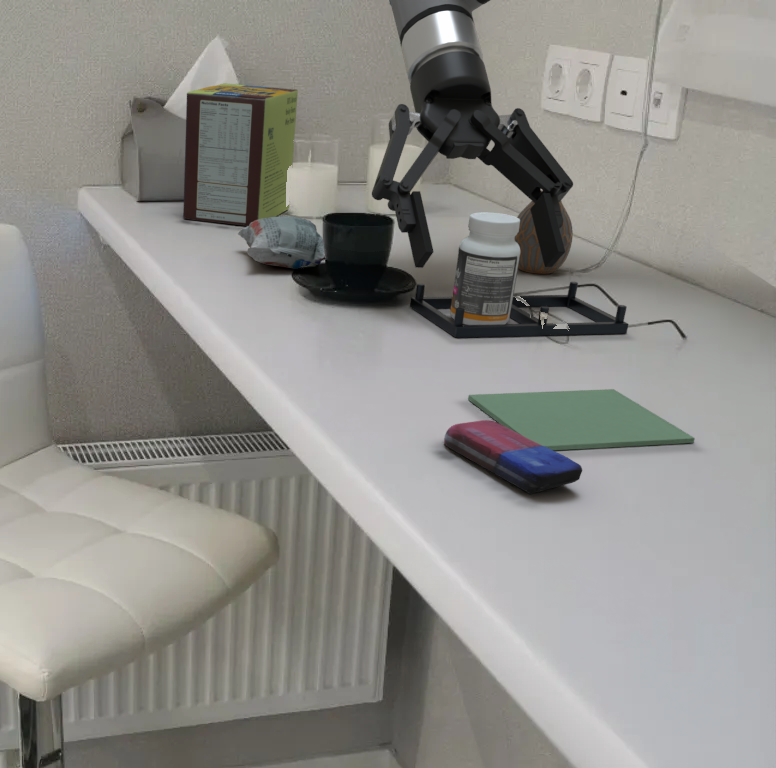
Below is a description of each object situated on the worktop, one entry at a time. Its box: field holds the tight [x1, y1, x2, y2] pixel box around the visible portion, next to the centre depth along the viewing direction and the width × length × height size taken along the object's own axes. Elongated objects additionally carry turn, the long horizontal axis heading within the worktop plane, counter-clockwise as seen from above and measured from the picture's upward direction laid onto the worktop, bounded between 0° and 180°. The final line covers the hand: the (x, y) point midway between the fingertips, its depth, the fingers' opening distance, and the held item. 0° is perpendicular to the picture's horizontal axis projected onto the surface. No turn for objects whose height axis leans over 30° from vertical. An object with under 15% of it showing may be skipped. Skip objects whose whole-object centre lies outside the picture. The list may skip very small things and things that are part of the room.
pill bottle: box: [449, 211, 520, 325], centre depth 111 cm, size 6×6×10 cm
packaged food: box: [237, 215, 326, 270], centre depth 130 cm, size 9×12×5 cm
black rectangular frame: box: [409, 281, 629, 339], centre depth 114 cm, size 18×11×2 cm, turn 105°
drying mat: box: [467, 388, 696, 451], centre depth 89 cm, size 13×11×1 cm
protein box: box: [182, 82, 298, 227], centre depth 152 cm, size 10×15×16 cm
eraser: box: [443, 419, 583, 495], centre depth 79 cm, size 11×4×2 cm, turn 26°
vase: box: [515, 189, 574, 275], centre depth 133 cm, size 7×7×9 cm
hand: (490, 260), depth 110 cm, fingers open, 13 cm apart
